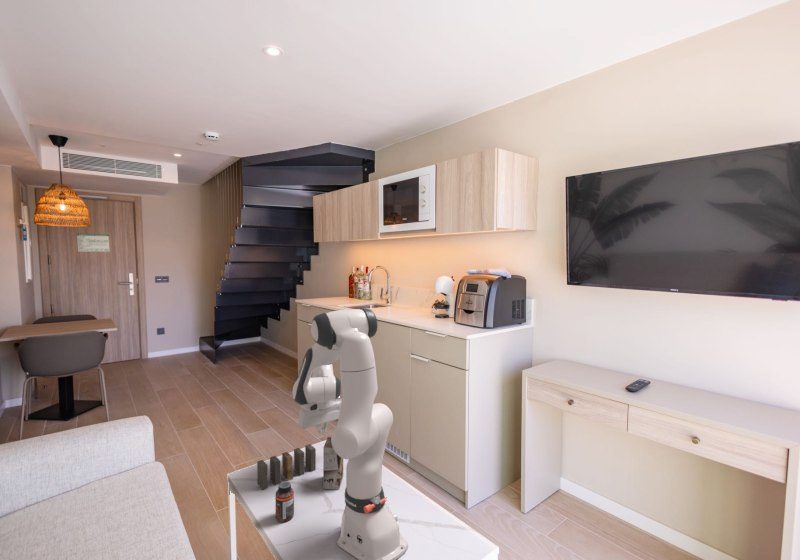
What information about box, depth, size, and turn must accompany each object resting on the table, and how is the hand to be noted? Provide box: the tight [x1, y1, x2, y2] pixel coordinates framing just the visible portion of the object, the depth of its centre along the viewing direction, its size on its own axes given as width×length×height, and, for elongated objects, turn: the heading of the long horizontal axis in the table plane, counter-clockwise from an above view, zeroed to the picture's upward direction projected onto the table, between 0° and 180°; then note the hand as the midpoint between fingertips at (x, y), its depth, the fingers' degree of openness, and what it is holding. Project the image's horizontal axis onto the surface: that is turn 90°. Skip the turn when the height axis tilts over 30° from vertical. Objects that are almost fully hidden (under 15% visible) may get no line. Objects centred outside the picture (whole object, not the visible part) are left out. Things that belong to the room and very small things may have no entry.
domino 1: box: [256, 459, 269, 491], centre depth 149 cm, size 5×2×9 cm, turn 41°
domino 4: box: [293, 447, 305, 477], centre depth 159 cm, size 5×2×9 cm, turn 40°
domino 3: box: [281, 451, 294, 482], centre depth 155 cm, size 5×2×9 cm, turn 40°
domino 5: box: [304, 443, 317, 473], centre depth 162 cm, size 5×2×9 cm, turn 41°
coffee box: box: [322, 436, 344, 490], centre depth 152 cm, size 9×6×16 cm
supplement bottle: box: [274, 480, 295, 523], centre depth 131 cm, size 6×6×11 cm
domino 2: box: [269, 455, 282, 486], centre depth 152 cm, size 5×2×9 cm, turn 40°
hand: (322, 432), depth 165 cm, fingers closed
